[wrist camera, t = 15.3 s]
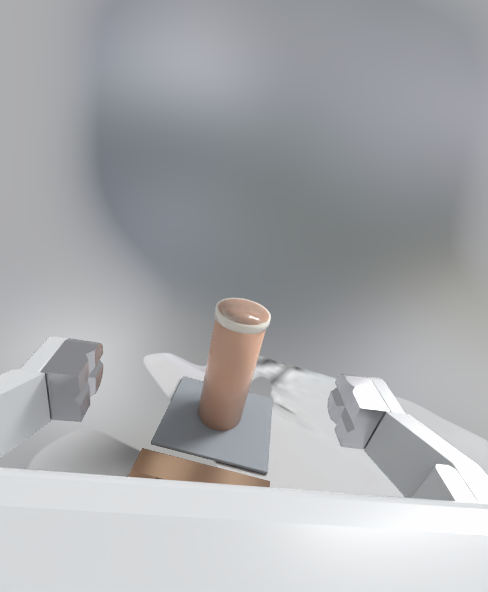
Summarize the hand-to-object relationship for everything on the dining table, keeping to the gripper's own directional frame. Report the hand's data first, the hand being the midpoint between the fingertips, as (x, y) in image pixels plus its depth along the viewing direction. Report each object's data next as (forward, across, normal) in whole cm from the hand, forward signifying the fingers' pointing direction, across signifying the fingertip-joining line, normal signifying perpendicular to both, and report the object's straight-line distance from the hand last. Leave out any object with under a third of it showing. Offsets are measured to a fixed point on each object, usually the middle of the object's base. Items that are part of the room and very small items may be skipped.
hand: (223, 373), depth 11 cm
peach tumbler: (+23, +4, -26) cm, 35 cm away
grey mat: (+21, +4, -26) cm, 34 cm away
